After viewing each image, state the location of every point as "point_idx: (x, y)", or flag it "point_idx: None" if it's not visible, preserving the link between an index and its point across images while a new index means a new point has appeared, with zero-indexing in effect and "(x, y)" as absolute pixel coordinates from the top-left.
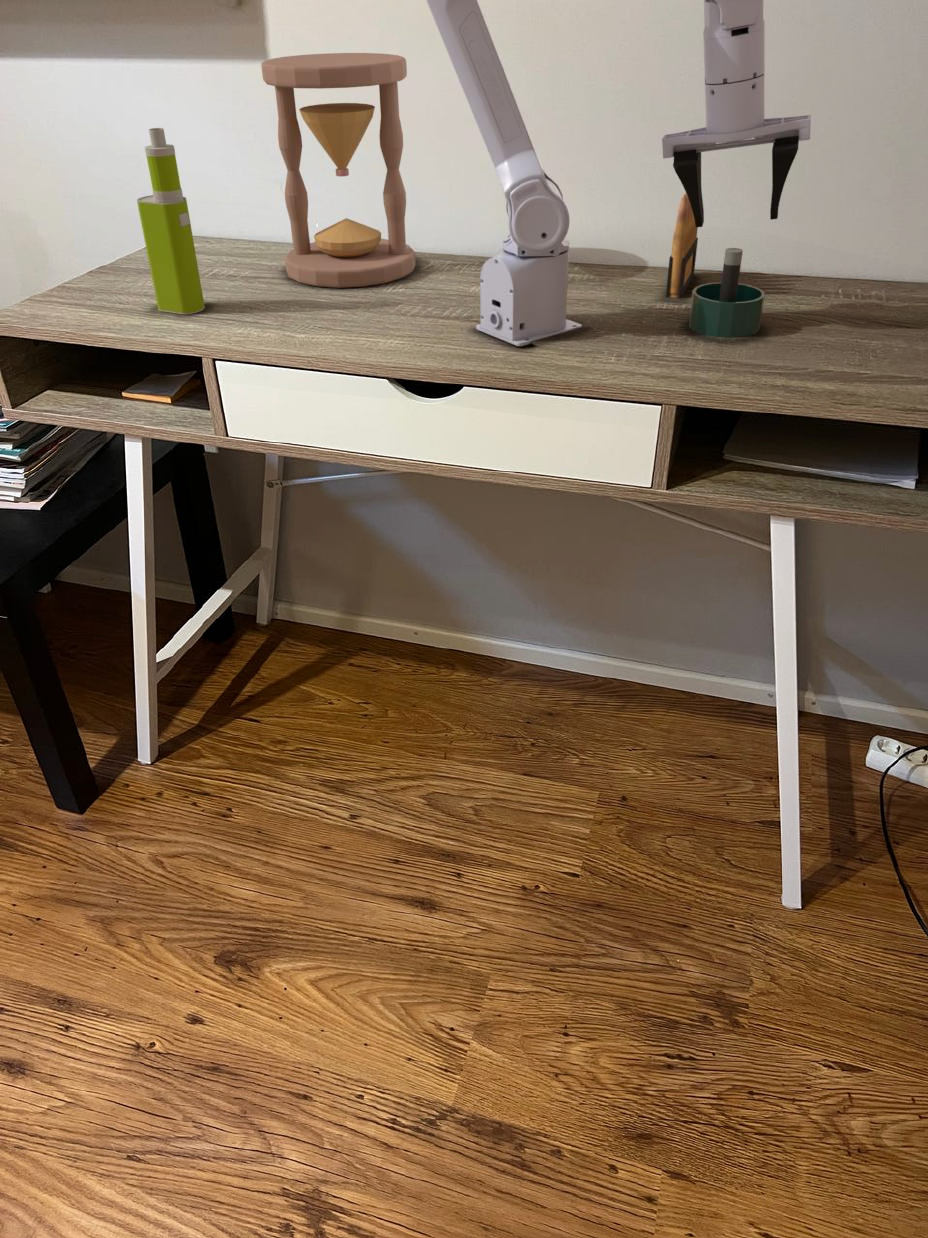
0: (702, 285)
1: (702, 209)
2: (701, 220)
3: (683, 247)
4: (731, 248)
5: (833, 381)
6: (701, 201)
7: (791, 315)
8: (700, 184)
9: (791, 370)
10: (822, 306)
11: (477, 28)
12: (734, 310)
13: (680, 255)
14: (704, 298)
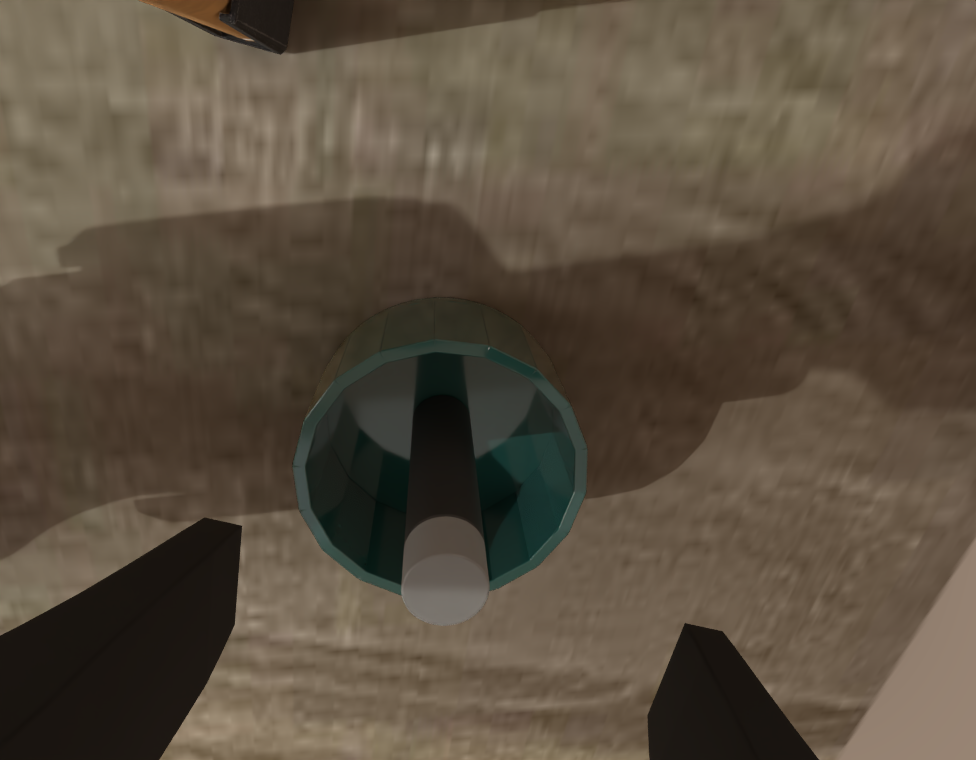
0: (338, 394)
1: (194, 620)
2: (213, 665)
3: (198, 6)
4: (435, 565)
5: None
6: (157, 669)
7: (722, 236)
8: (68, 751)
9: (581, 696)
10: (883, 111)
11: None
12: None
13: (199, 15)
14: (339, 556)
